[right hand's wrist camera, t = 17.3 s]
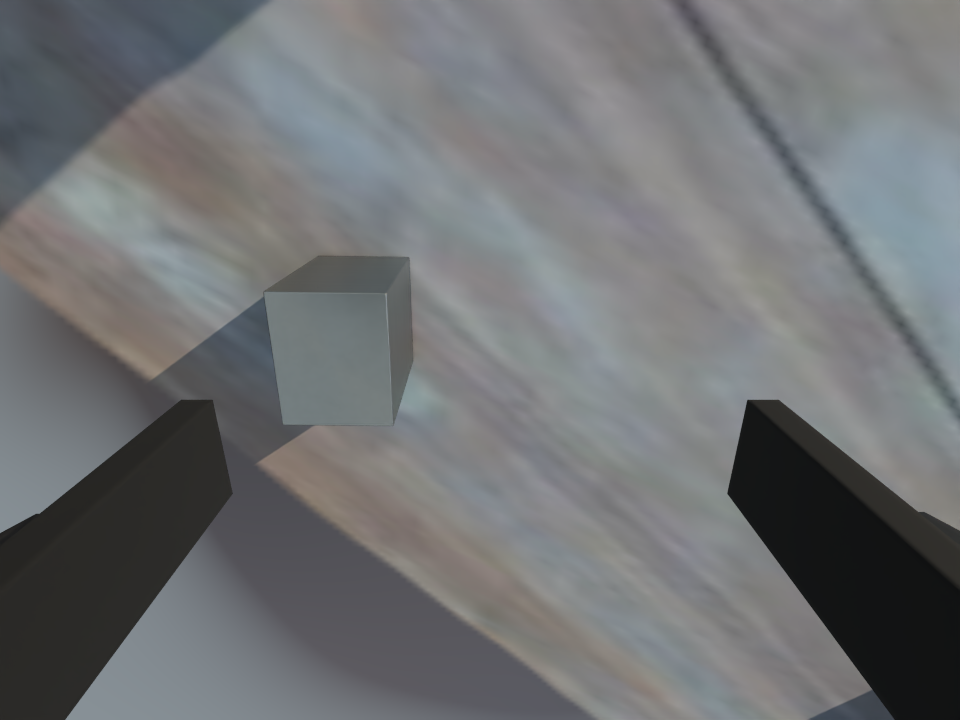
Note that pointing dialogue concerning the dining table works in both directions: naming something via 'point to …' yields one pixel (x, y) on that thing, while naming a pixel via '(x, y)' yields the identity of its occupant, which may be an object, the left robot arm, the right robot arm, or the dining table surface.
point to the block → (342, 340)
